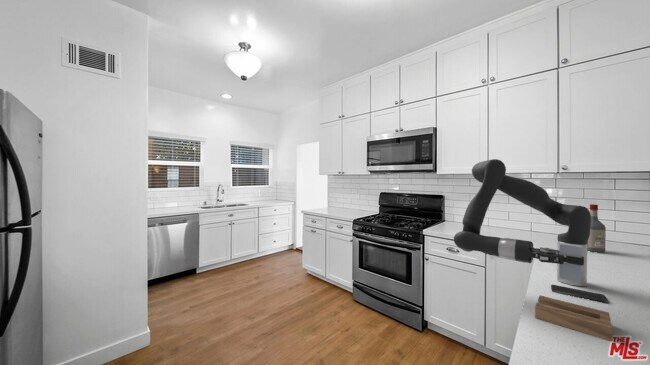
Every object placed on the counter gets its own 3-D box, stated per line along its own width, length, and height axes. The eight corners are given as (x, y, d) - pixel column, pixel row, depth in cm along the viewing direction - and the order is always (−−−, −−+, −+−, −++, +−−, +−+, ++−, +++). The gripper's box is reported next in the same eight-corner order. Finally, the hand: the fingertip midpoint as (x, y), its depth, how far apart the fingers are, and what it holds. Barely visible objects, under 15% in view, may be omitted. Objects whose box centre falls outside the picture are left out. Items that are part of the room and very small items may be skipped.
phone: (608, 301, 90) (551, 289, 100) (608, 305, 90) (551, 292, 100) (604, 294, 96) (551, 283, 106) (604, 297, 96) (550, 286, 106)
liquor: (608, 253, 159) (608, 205, 159) (590, 252, 161) (591, 204, 161) (595, 249, 168) (596, 204, 168) (579, 248, 170) (579, 203, 170)
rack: (539, 305, 88) (539, 295, 88) (608, 324, 77) (608, 312, 77) (534, 317, 80) (535, 306, 80) (611, 340, 68) (612, 327, 68)
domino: (559, 276, 84) (560, 242, 84) (581, 280, 81) (581, 245, 81) (559, 278, 82) (559, 244, 82) (581, 282, 79) (581, 247, 79)
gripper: (511, 242, 87) (583, 252, 74) (519, 236, 97) (584, 245, 84) (511, 264, 87) (583, 278, 74) (518, 256, 97) (583, 268, 84)
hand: (583, 261), depth 79 cm, fingers closed on domino, 2 cm apart
